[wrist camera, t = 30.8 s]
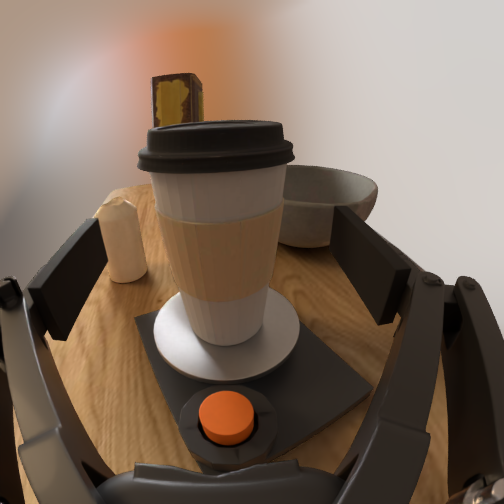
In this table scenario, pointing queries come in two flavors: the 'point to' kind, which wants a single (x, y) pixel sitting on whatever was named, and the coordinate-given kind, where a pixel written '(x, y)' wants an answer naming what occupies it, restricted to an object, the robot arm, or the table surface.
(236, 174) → the coffee cup
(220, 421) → the tare button
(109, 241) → the candle
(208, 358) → the scale pan
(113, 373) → the table surface
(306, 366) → the scale
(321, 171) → the bowl
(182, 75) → the book
